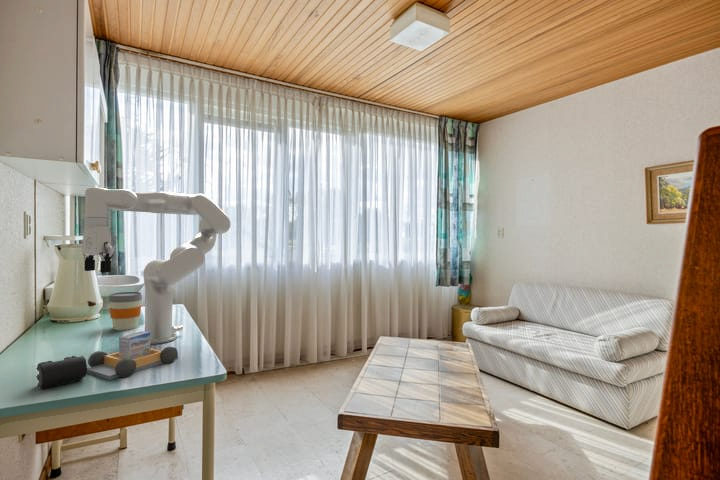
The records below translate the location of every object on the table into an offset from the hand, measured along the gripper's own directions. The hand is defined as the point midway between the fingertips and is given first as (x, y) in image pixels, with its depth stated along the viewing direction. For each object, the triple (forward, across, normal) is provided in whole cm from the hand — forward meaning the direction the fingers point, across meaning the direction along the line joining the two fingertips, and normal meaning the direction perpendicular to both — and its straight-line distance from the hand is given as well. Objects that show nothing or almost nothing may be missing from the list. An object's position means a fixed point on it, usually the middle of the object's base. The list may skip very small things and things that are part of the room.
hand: (97, 271), depth 133 cm
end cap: (+29, +22, -21) cm, 42 cm away
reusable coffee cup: (+28, -25, +25) cm, 45 cm away
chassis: (+28, +25, -2) cm, 38 cm away
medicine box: (+27, +25, -2) cm, 37 cm away
